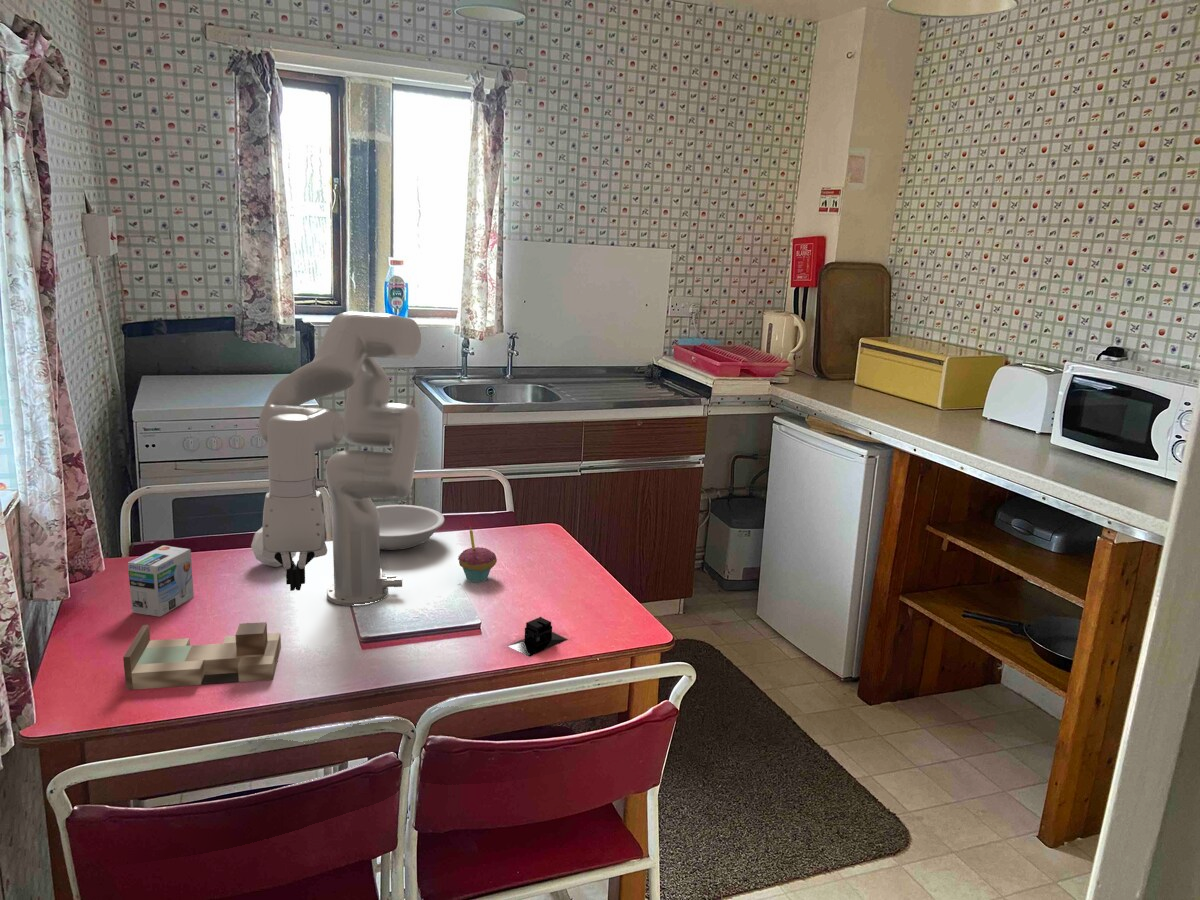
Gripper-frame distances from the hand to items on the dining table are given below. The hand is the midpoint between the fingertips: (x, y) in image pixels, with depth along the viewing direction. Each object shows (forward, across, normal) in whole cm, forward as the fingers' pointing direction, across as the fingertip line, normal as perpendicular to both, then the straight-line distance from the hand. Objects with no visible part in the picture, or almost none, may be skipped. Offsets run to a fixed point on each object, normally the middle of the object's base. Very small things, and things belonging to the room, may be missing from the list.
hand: (296, 587), depth 152 cm
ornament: (+14, +10, -51) cm, 54 cm away
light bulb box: (+14, +29, -29) cm, 44 cm away
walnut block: (+12, +8, -1) cm, 14 cm away
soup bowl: (+13, -17, -59) cm, 63 cm away
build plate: (+15, -44, -2) cm, 46 cm away
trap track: (+15, +15, -1) cm, 21 cm away
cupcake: (+14, -35, -35) cm, 52 cm away
